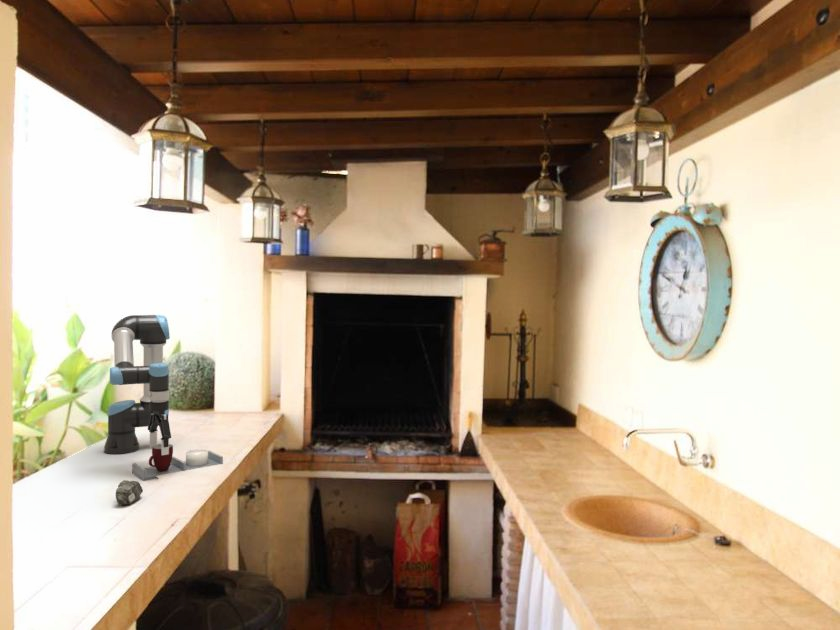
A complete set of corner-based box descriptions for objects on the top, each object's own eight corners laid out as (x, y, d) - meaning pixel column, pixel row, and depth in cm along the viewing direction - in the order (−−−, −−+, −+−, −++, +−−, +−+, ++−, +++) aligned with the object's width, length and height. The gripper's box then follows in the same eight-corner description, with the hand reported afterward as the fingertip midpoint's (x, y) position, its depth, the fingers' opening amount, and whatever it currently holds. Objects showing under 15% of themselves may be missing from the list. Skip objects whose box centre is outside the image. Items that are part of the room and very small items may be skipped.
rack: (132, 473, 257) (132, 463, 257) (209, 459, 279) (209, 450, 279) (143, 480, 246) (143, 470, 246) (222, 466, 269) (222, 456, 268)
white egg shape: (182, 463, 268) (182, 451, 268) (202, 459, 274) (202, 448, 274) (190, 467, 262) (190, 455, 262) (211, 463, 268) (211, 452, 268)
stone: (141, 514, 220) (134, 494, 215) (120, 519, 219) (112, 498, 214) (146, 487, 232) (139, 467, 227) (126, 491, 230) (118, 471, 226)
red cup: (159, 475, 250) (159, 451, 249) (143, 473, 252) (143, 449, 252) (177, 468, 260) (177, 445, 259) (161, 466, 262) (161, 443, 262)
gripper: (139, 397, 263) (139, 446, 264) (160, 406, 245) (160, 459, 246) (157, 395, 268) (157, 443, 269) (179, 404, 250) (179, 456, 251)
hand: (159, 451), depth 258 cm, fingers open, 13 cm apart
